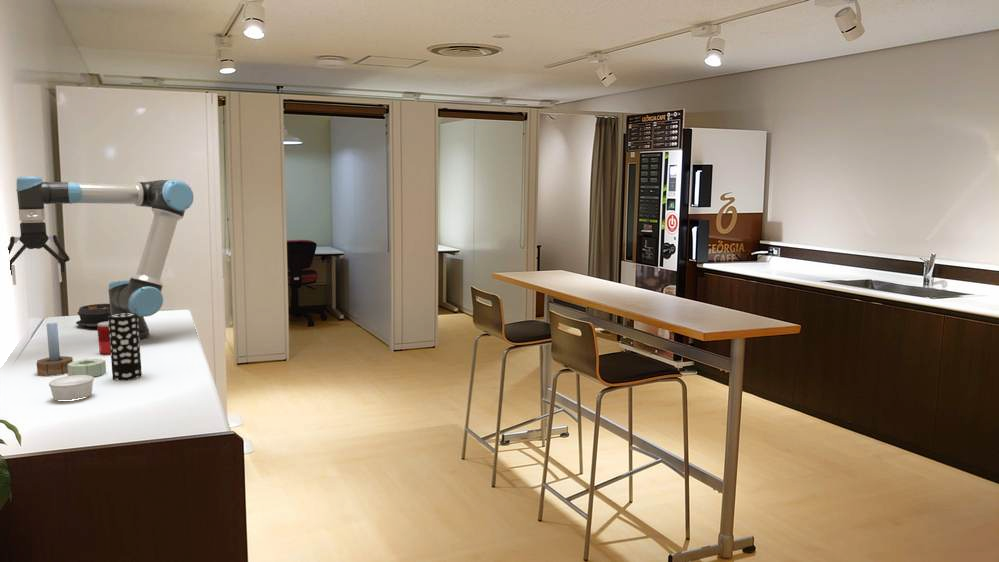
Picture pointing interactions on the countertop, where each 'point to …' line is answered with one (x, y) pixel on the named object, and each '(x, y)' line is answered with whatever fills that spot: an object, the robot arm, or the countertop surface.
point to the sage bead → (87, 367)
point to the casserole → (93, 314)
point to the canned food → (104, 338)
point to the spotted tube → (124, 346)
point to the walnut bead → (53, 366)
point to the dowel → (53, 342)
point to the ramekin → (71, 387)
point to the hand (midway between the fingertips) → (37, 283)
